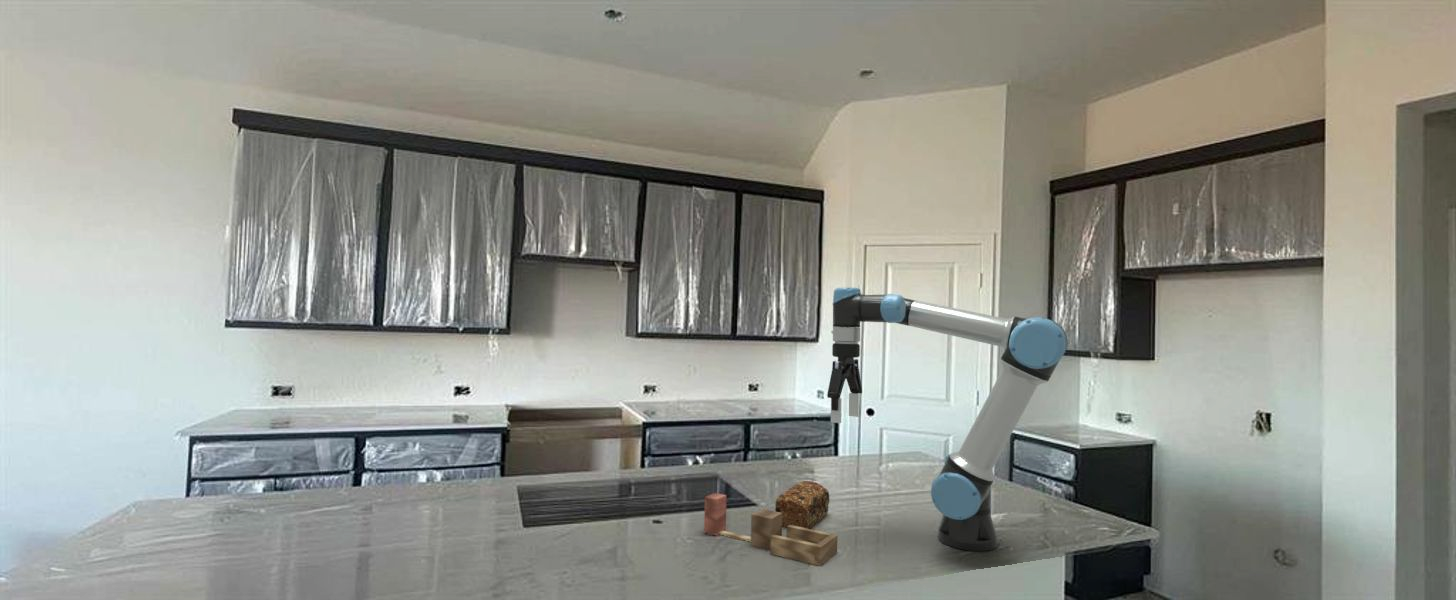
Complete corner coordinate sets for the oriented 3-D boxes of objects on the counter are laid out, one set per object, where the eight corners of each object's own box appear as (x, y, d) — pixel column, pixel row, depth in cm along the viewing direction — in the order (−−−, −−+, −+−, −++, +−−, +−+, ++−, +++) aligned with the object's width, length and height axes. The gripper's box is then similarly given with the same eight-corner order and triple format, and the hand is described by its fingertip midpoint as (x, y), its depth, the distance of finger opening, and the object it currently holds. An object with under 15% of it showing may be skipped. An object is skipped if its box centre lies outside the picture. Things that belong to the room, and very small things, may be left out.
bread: (798, 509, 198) (799, 477, 199) (831, 515, 193) (831, 482, 193) (773, 526, 182) (773, 491, 182) (807, 533, 177) (808, 496, 177)
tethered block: (781, 543, 168) (782, 505, 168) (771, 550, 163) (771, 510, 163) (714, 528, 179) (715, 492, 179) (702, 534, 174) (703, 497, 174)
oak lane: (837, 552, 162) (837, 534, 162) (820, 565, 153) (820, 547, 153) (789, 541, 169) (789, 524, 170) (770, 553, 160) (770, 536, 160)
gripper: (849, 341, 190) (848, 412, 189) (815, 343, 169) (814, 423, 168) (873, 342, 186) (872, 415, 185) (842, 344, 165) (841, 426, 164)
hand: (845, 419), depth 177 cm, fingers open, 13 cm apart
